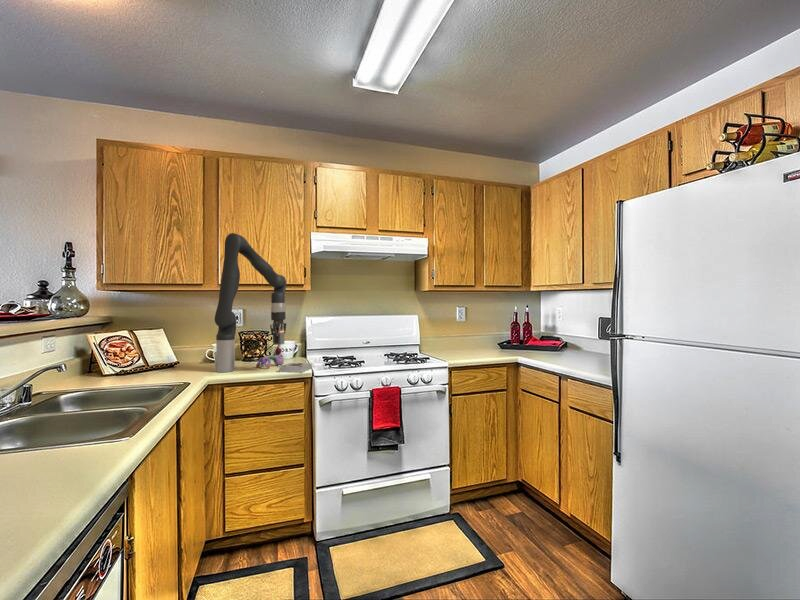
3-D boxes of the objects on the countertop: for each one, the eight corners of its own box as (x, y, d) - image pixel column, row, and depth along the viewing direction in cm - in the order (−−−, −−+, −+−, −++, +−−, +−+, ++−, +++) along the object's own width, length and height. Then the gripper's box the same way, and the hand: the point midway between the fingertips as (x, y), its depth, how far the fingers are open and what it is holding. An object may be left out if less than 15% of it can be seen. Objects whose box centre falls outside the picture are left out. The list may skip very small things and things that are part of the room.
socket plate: (279, 372, 208) (279, 366, 208) (290, 367, 220) (290, 362, 220) (301, 372, 205) (301, 366, 205) (311, 368, 218) (311, 363, 218)
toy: (283, 376, 226) (292, 352, 232) (265, 367, 215) (275, 343, 221) (271, 374, 231) (280, 351, 237) (253, 366, 220) (263, 342, 226)
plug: (272, 344, 208) (272, 331, 208) (277, 343, 212) (276, 330, 212) (280, 344, 207) (280, 331, 207) (284, 343, 212) (284, 330, 212)
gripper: (278, 311, 218) (278, 341, 218) (265, 311, 204) (265, 344, 204) (290, 310, 216) (291, 341, 216) (278, 311, 202) (278, 344, 202)
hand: (278, 342), depth 210 cm, fingers closed on plug, 4 cm apart
